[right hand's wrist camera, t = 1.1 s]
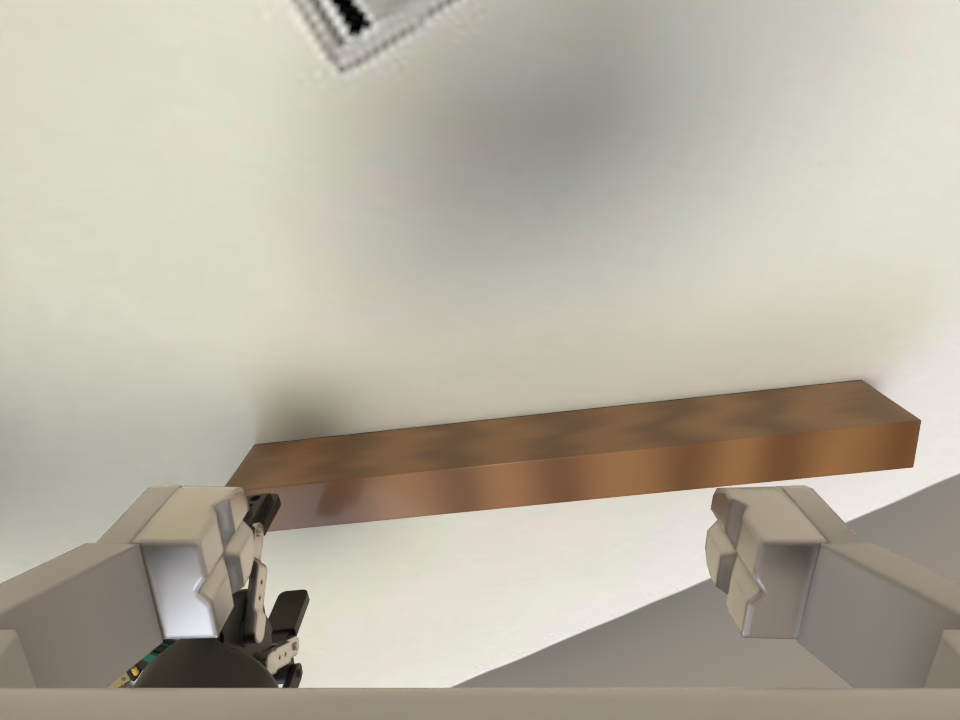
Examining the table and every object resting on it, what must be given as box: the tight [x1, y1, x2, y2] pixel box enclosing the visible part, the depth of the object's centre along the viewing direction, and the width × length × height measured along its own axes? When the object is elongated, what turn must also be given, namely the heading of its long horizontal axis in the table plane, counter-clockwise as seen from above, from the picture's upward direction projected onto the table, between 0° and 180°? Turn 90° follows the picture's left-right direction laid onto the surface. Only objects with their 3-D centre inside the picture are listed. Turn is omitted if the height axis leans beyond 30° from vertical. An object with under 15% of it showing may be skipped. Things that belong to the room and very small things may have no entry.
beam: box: [225, 380, 921, 532], centre depth 50 cm, size 54×4×8 cm, turn 97°
